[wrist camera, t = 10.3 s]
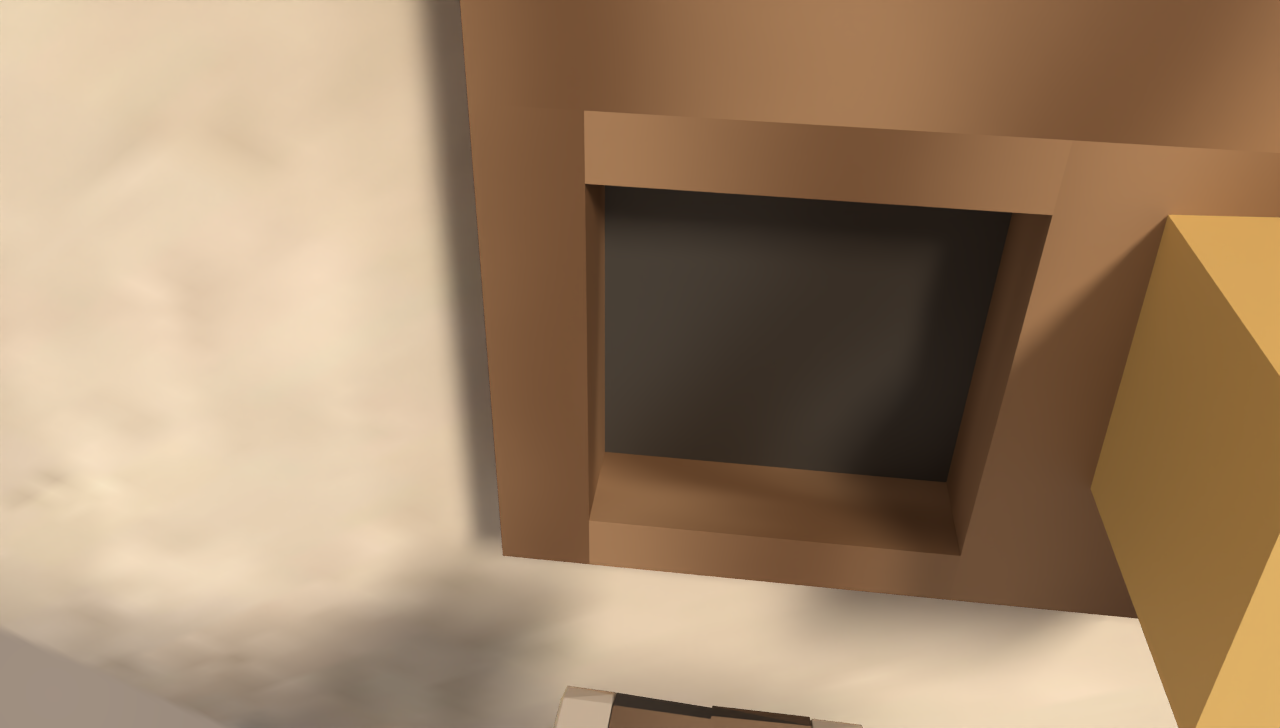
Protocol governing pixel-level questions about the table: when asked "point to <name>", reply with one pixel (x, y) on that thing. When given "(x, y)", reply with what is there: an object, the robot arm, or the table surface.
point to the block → (1203, 470)
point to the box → (841, 273)
